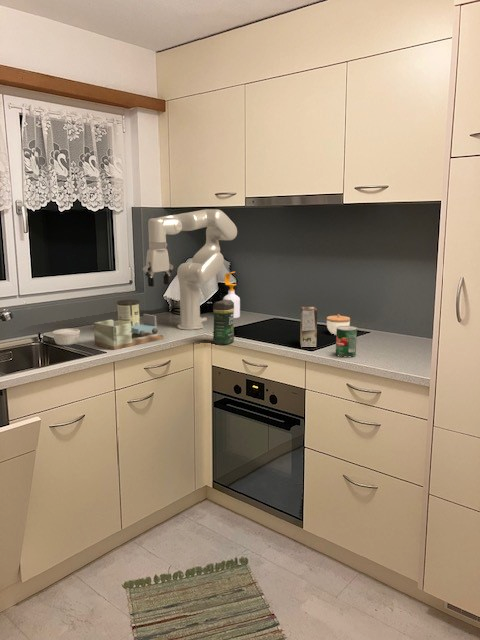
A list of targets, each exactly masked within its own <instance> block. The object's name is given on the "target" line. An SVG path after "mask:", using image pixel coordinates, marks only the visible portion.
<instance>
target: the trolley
mask: <svg viewBox="0 0 480 640" xmlns="http://www.w3.org/2000/svg"><path fill="white" fill-rule="evenodd" d="M142 319H143V323H140V325H135V326H131V332H132V333H137V334H139V335H140V336H144V335H145V333H146V332H149V333H153V334H157V333H159V331H158V330H159V329H158V328H157V327H158V326H157V325H158V324H157V323H158V322H157V315H154V314H147V313H143V315H142Z"/></svg>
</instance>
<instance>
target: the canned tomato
mask: <svg viewBox="0 0 480 640" xmlns="http://www.w3.org/2000/svg"><path fill="white" fill-rule="evenodd" d="M357 333H358V327H356V326H353V325H350V326H338V327H337V332H336V335H335V336H336V337H335V355H336V354H337V355H339V356H354V357H356V356H357V354H356V353H357ZM355 355H356V356H355ZM339 356H338V357H339Z"/></svg>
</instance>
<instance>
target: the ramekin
mask: <svg viewBox="0 0 480 640" xmlns="http://www.w3.org/2000/svg"><path fill="white" fill-rule="evenodd" d="M80 334H81V331H80V329H78V328H60V329H55V330H53V331H52V335H53V339H54V343H55V344H56V345H58V346H59V345H60V346H71V345H75V344H77V343H79V340H80ZM74 343H75V344H74Z"/></svg>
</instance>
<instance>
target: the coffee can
mask: <svg viewBox="0 0 480 640" xmlns="http://www.w3.org/2000/svg"><path fill="white" fill-rule="evenodd" d="M116 305H117V322H118V323H117V324H118V325H123V324H131V326H135V325H140V324H141V321H140V320H141V319H140V300H137V299H122V300H118V301H117V302H116ZM118 325H117V326H118Z"/></svg>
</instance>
